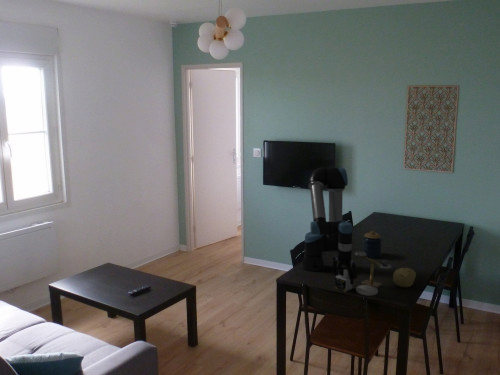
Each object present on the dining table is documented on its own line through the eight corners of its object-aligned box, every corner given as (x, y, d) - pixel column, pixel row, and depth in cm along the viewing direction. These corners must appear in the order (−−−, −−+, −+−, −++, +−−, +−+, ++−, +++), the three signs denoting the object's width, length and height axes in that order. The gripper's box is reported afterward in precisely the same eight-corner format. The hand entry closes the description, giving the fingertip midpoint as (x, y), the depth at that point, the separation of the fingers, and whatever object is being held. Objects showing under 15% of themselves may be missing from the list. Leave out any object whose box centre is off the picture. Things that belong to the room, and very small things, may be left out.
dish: (352, 292, 264) (352, 290, 264) (361, 285, 273) (362, 283, 273) (372, 297, 257) (372, 295, 257) (381, 290, 266) (381, 288, 266)
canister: (382, 258, 317) (383, 234, 313) (362, 258, 319) (363, 233, 315) (380, 252, 329) (381, 228, 326) (361, 251, 331) (362, 227, 328)
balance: (351, 282, 278) (352, 253, 275) (356, 278, 284) (357, 250, 280) (387, 291, 264) (388, 261, 261) (392, 287, 270) (393, 258, 266)
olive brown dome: (406, 291, 265) (407, 273, 263) (388, 284, 274) (389, 267, 272) (418, 286, 271) (419, 268, 269) (400, 279, 281) (401, 262, 279)
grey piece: (334, 288, 269) (335, 268, 267) (342, 284, 274) (342, 265, 271) (345, 292, 264) (346, 272, 262) (352, 288, 269) (353, 268, 266)
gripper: (325, 247, 268) (324, 284, 272) (358, 255, 255) (356, 294, 260) (332, 244, 273) (331, 280, 278) (364, 251, 261) (362, 289, 265)
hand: (343, 287), depth 269 cm, fingers closed on grey piece, 7 cm apart
